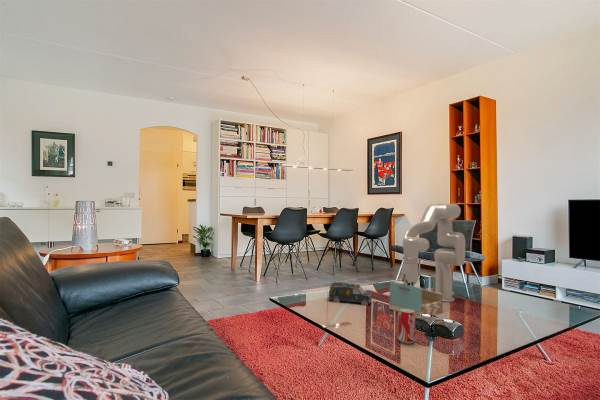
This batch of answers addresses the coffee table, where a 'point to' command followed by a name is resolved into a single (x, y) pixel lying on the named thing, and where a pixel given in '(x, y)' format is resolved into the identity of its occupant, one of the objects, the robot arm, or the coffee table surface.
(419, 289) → the panel
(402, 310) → the soda can
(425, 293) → the trailer bed
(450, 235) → the robot arm
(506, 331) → the coffee table surface
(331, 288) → the toy van
